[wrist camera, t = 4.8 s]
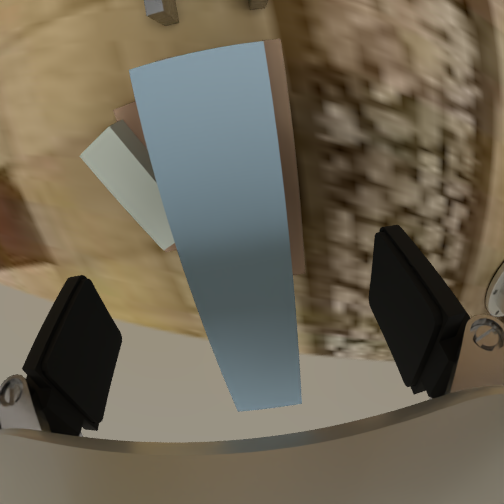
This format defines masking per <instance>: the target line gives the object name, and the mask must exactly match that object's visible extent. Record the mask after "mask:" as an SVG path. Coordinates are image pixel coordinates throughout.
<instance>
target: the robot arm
mask: <svg viewBox="0 0 504 504" xmlns="http://www.w3.org/2000/svg"><path fill="white" fill-rule="evenodd" d="M369 304H370V307H371V309H372V311H373V313H374V316H375V318H376V320H377V322H378V324H379V326H380V329H381V331H382V333H383V335H384V337H385V340H386V342H387V344H388V346H389V349H390V351H391V353H392V355H393V358H394V360H395V362H396V365H397V367H398V369H399V372H400V374H401V376H402V379H403V381H404V383H405V385H406V386H407V387H410V386H411V389H412V391H413V393H414V394H417V393H420V392H423V391H427V394H428V396H429V397H430V399H429V400H427V401H424V402H421V403H418V404H415V405H411V406H408V407H405V408H402V409H398V410H395V411H391V412H388V413H384V414H380V415H377V416H373V417H369V418H365V419H361V420H357V421H353V422H349V423H344V424H340V425H335V426H331V427H326V428H321V429H315V430H310V431H304V432H298V433H292V434H285V435H278V436H271V437H262V438H253V439H243V440H231V441H215V442H188V443H161V442H133V441H118V440H106V439H96V438H88V437H83V435H82V433H81V428H82V427H83V428H84V429H86V430H96V431H97V430H98V426H99V423H100V422H101V421H102V419H103V416H104V411H105V406H106V402H107V397H108V393H109V389H110V385H111V381H112V377H113V373H114V369H115V365H116V362H117V358H118V354H119V350H120V346H121V343H122V336H121V333H120V331H119V329H118V328H117V326H116V324H115V323H114V321H113V319H112V317H111V316H110V314H109V312H108V310H107V309H106V307H105V305H104V303H103V302H102V300H101V298H100V296H99V294H98V292H97V291H96V289H95V287H94V285H93V283H92V281H91V280H90V279H87V278H86V277H85V276H84V275H80V276H74V277H70V278H68V279H67V281H66V282H65V284H64V286H63V288H62V289H61V291H60V293H59V295H58V297H57V298H56V300H55V302H54V304H53V306H52V308H51V310H50V312H49V314H48V316H47V317H46V319H45V321H44V323H43V325H42V327H41V329H40V331H39V333H38V335H37V337H36V339H35V342H34V344H33V346H32V348H31V350H30V352H29V354H28V357H27V359H26V361H25V364H24V366H23V368H22V369H23V371H24V372H25V373H26V374H27V378H26V379H25V378H24V377H23V376H22V375H18V374H16V375H12V376H10V377H8V378H7V379H6V380H5V381H4V382H3V383H2V384H1V386H0V504H504V324H503V323H502V322H501V321H500V320H499V319H497V318H495V317H500V316H504V263H503V264H502V266H501V267H500V268H499V270H498V271H497V273H496V274H495V276H494V278H493V280H492V282H491V283H490V286H489V288H488V291H487V295H486V301H485V304H486V308H487V310H488V311H489V313H490V314H491V315H492V316H491V315H486V314H480V315H476V316H473V317H471V318H470V317H469V315H468V314H467V312H466V311H465V309H464V308H463V306H462V305H461V304H460V302H459V301H458V299H457V298H456V296H455V295H454V294H453V292H452V291H451V290H450V288H449V287H448V286H447V284H446V283H445V282H444V280H443V279H442V278H441V276H440V275H439V274H438V272H437V271H436V270H435V268H434V267H433V266H432V265H431V263H430V262H429V261H428V259H427V258H426V257H425V256H424V254H423V253H422V252H421V251H420V250H419V248H418V247H417V246H416V245H415V243H414V242H413V241H412V240H411V239H410V237H409V236H408V235H407V234H406V233H405V232H404V230H403V229H402V228H401V227H400V226H399V225H393V226H386V227H382V228H380V231H379V232H378V233H376V234H375V240H374V252H373V263H372V273H371V282H370V291H369ZM493 316H494V317H493Z"/></svg>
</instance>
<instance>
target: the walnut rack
mask: <svg viewBox="0 0 504 504" xmlns="http://www.w3.org/2000/svg"><path fill="white" fill-rule="evenodd" d="M262 41H263V42H264V48H265V54H266V60H267V67H268V73H269V80H270V87H271V93H272V100H273V107H274V114H275V122H276V129H277V137H278V144H279V152H280V160H281V169H282V177H283V185H284V194H285V203H286V212H287V222H288V231H289V241H290V251H291V262H292V273H293V275H297V274H304V273H305V259H304V244H303V230H302V218H301V205H300V194H299V183H298V173H297V163H296V153H295V144H294V135H293V126H292V118H291V110H290V102H289V94H288V87H287V80H286V73H285V66H284V59H283V52H282V46H281V39H272V40H262ZM170 58H172V57H170ZM166 59H168V58H166ZM162 60H165V59H162ZM158 61H161V60H158ZM155 62H157V61H155Z"/></svg>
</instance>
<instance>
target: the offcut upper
mask: <svg viewBox="0 0 504 504" xmlns="http://www.w3.org/2000/svg"><path fill="white" fill-rule="evenodd" d="M80 157H81V158H82V160H83V161H84V162H85V163H86V164H87V165H88V167H89V168H90V169H91V170H92V171H93V173H94V174H95V175H96V176H97V177H98V178H99V180H100V181H101V182H102V183H103V184H104V185H105V187H106V188H107V189H108V190H109V191H110V192H111V193H112V194H113V196H114V197H115V198H116V199H117V200H118V201H119V202H120V204H121V205H122V206H123V207H124V208H125V209H126V210H127V211H128V212H129V214H130V215H131V216H132V217H133V218H134V219H135V220H136V221H137V222H138V223H139V225H140V226H141V227H142V228H143V229H144V230H145V231H146V232H147V233H148V234H149V235H150V236H151V238H152V239H153V240H154V241H155V242H156V243H157V244H158V245H159V246H160V247H161V248H162V249H163V250H165V249H167V248H168V247H169V246H171V245H172V244H174V243H175V242H174V239H173V235H172V232H171V229H170V226H169V223H168V219H167V216H166V213H165V210H164V206H163V203H162V199H161V196H160V193H159V189H158V186H157V182H156V179H155V175H154V171H153V168H152V164H151V160H150V157H149V153H148V150H147V149H146V147H145V146H144V145H143V144H142V143H141V141H140V140H139V139H138V138H137V136H136V135H135V134H134V133H133V132H132V130H131V129H130V128H129V127H128V125H127V124H126V123H125V122H124V121H123V119H122V120H120V121H118V122H116V123H114V124H113V125H111V126H109V127H108V128H107V129H106V130H105V131H104V132H103V133H102V134H101V135H100V136H99V137H98V138H97V139H96V140H95V141H94V142H93V143H92V144H91V145H90V146H89V147H88V148H87V149H86V150H85V151H84V152H83V153H82V154H81V155H80Z"/></svg>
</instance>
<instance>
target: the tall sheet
mask: <svg viewBox="0 0 504 504" xmlns="http://www.w3.org/2000/svg"><path fill="white" fill-rule="evenodd" d="M129 73H130V78H131V82H132V87H133V91H134V96H135V100H136V105H137V109H138V113H139V117H140V121H141V125H142V130H143V134H144V137H145V141H146V145H147V149H148V153H149V157H150V160H151V164H152V168H153V171H154V175H155V179H156V182H157V186H158V189H159V193H160V196H161V199H162V203H163V206H164V210H165V213H166V216H167V219H168V223H169V226H170V229H171V232H172V235H173V239H174V242H175V245H176V248H177V251H178V254H179V257H180V260H181V263H182V266H183V269H184V272H185V275H186V278H187V281H188V284H189V287H190V290H191V292H192V295H193V298H194V301H195V304H196V307H197V309H198V312H199V315H200V318H201V320H202V323H203V326H204V328H205V331H206V334H207V336H208V339H209V342H210V344H211V347H212V349H213V352H214V354H215V357H216V359H217V362H218V365H219V367H220V369H221V372H222V375H223V377H224V379H225V382H226V384H227V386H228V389H229V392H230V394H231V396H232V399H233V401H234V403H235V405H236V408H237V410H238V411H249V410H259V409H267V408H275V407H282V406H289V405H296V404H302V400H301V381H300V364H299V349H298V335H297V321H296V308H295V296H294V284H293V273H292V262H291V251H290V241H289V231H288V222H287V212H286V203H285V194H284V185H283V177H282V169H281V160H280V152H279V144H278V137H277V129H276V122H275V114H274V107H273V100H272V93H271V87H270V80H269V73H268V67H267V60H266V54H265V48H264V42H263V41H260V42H252V43H244V44H237V45H231V46H225V47H219V48H214V49H208V50H203V51H199V52H194V53H189V54H185V55H181V56H176V57H172V58H168V59H165V60H161V61H157V62H154V63H150V64H147V65H143V66H140V67H137V68H133V69H130V70H129Z"/></svg>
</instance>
